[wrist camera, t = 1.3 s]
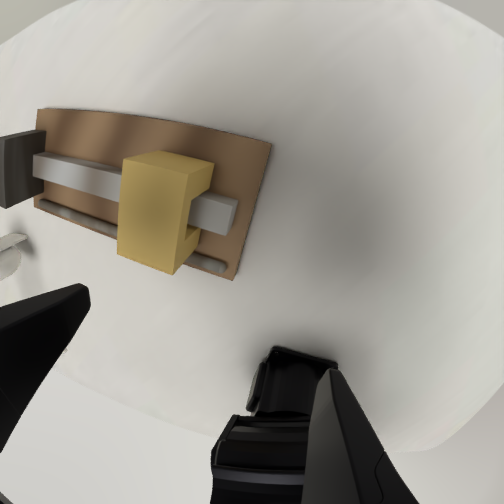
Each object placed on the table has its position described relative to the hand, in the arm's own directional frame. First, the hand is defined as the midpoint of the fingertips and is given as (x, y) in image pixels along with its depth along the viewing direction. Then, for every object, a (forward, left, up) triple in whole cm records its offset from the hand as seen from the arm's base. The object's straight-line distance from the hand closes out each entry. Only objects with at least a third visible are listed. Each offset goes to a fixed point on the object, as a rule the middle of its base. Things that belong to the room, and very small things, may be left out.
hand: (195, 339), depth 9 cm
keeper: (+6, 0, -11) cm, 12 cm away
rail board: (+12, 0, -12) cm, 17 cm away
